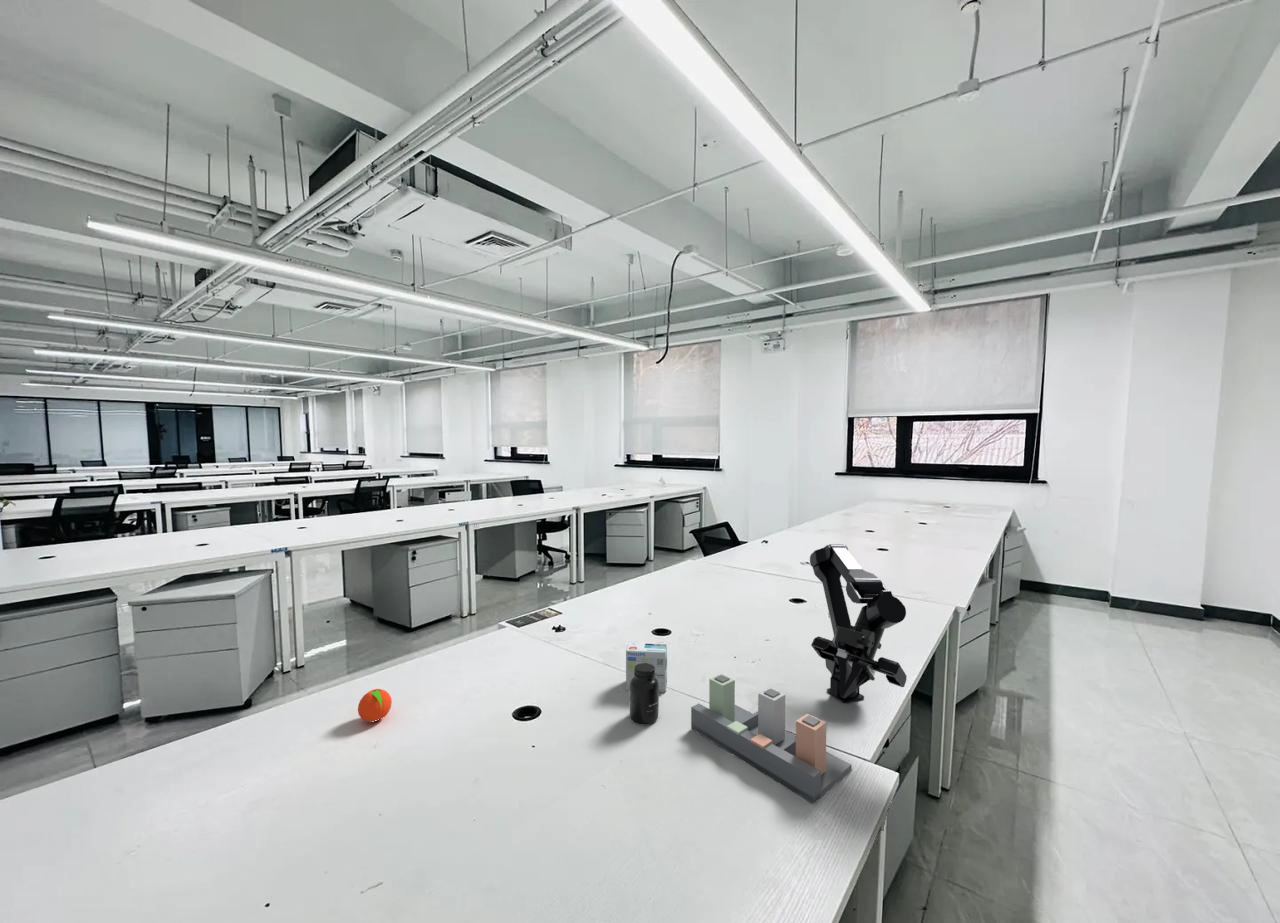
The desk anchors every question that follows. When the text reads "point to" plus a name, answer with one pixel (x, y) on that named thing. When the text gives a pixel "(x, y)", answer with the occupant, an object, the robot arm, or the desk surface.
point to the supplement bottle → (644, 695)
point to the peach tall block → (811, 741)
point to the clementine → (374, 705)
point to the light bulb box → (647, 660)
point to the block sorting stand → (768, 752)
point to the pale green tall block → (722, 696)
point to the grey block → (771, 715)
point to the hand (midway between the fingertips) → (842, 696)
